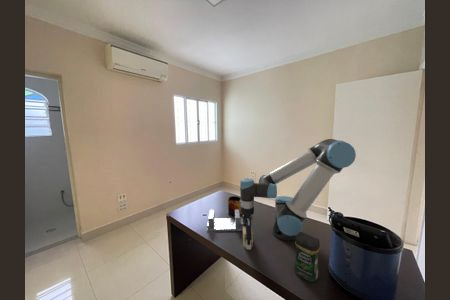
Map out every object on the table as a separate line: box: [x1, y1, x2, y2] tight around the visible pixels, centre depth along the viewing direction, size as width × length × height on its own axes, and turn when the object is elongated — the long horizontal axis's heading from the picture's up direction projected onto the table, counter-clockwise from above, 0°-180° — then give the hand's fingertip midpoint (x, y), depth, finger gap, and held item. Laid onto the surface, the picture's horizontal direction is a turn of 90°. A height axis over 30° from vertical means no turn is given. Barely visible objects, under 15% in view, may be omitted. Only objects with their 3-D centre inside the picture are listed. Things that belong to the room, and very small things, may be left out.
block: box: [242, 227, 254, 248], centre depth 99 cm, size 5×7×8 cm
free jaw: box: [234, 209, 245, 228], centre depth 116 cm, size 8×12×8 cm
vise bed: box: [206, 209, 243, 232], centre depth 117 cm, size 26×13×8 cm, turn 89°
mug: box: [227, 195, 242, 218], centre depth 133 cm, size 10×14×12 cm
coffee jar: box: [293, 231, 321, 283], centre depth 77 cm, size 10×8×19 cm
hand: (247, 242), depth 99 cm, fingers open, 9 cm apart
